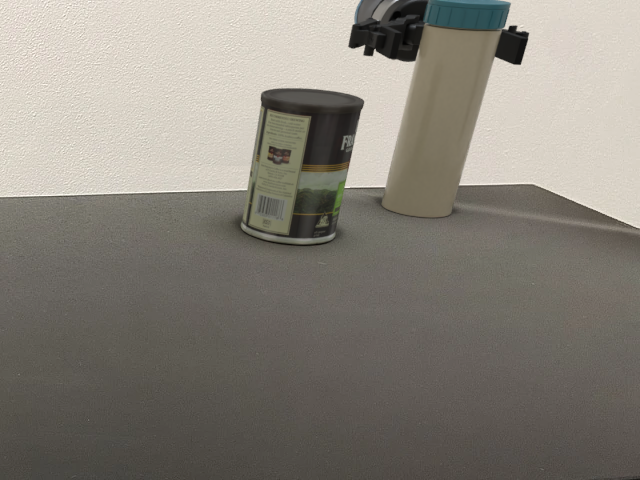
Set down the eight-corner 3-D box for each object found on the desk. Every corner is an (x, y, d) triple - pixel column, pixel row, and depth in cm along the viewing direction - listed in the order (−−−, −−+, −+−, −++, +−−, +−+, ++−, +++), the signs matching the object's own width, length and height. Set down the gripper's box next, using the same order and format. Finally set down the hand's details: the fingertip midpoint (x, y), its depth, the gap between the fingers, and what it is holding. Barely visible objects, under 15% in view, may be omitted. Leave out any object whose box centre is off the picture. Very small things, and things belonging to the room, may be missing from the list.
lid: (505, 24, 107) (512, 0, 106) (503, 31, 101) (510, 6, 100) (426, 18, 110) (432, -6, 109) (419, 24, 104) (425, 0, 103)
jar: (453, 205, 118) (508, 6, 106) (448, 221, 112) (507, 12, 100) (385, 195, 121) (432, 0, 109) (377, 211, 115) (425, 6, 103)
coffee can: (336, 224, 109) (365, 92, 102) (333, 250, 101) (364, 109, 94) (245, 213, 112) (266, 83, 105) (234, 237, 104) (256, 99, 96)
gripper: (497, 62, 126) (562, 90, 108) (304, 53, 128) (336, 79, 110) (515, -1, 122) (585, 16, 104) (315, -10, 124) (351, 6, 106)
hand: (458, 48), depth 107 cm, fingers open, 13 cm apart
